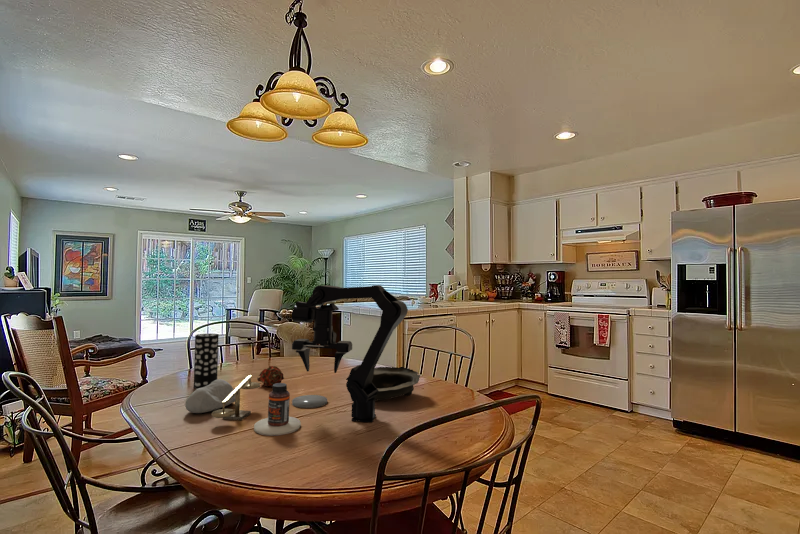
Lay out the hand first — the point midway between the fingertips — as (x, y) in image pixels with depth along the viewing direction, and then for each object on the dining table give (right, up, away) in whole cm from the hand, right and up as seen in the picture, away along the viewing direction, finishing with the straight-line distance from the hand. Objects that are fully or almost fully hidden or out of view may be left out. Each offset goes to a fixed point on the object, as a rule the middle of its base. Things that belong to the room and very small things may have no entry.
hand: (321, 372), depth 135 cm
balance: (-25, -12, -6) cm, 29 cm away
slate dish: (-6, -13, +10) cm, 17 cm away
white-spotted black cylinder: (-51, -13, +28) cm, 59 cm away
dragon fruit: (-26, -13, +31) cm, 43 cm away
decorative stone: (-36, -13, +1) cm, 38 cm away
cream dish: (-10, -13, -14) cm, 21 cm away
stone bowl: (+21, -14, +19) cm, 32 cm away
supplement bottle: (-10, -12, -14) cm, 21 cm away
